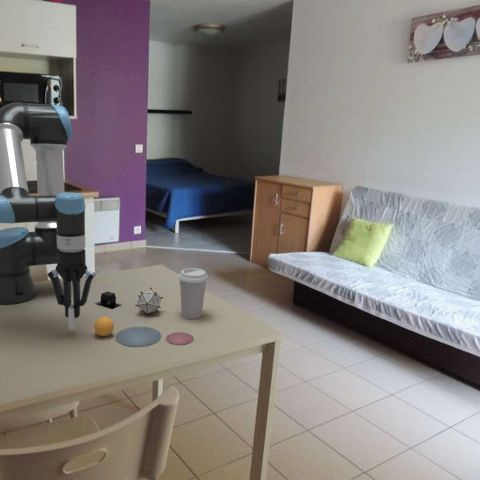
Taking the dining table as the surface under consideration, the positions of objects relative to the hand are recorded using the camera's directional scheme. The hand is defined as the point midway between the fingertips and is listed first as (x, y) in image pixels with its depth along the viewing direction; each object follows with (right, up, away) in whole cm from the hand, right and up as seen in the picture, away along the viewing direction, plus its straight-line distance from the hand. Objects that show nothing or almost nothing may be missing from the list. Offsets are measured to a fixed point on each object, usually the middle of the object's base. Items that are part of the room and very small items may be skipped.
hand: (72, 327), depth 138 cm
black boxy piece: (+4, +3, +24) cm, 24 cm away
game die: (+19, +1, +19) cm, 26 cm away
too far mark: (+31, -4, +1) cm, 31 cm away
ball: (+9, 0, 0) cm, 9 cm away
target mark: (+19, -3, +1) cm, 19 cm away
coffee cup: (+33, 0, +19) cm, 38 cm away
